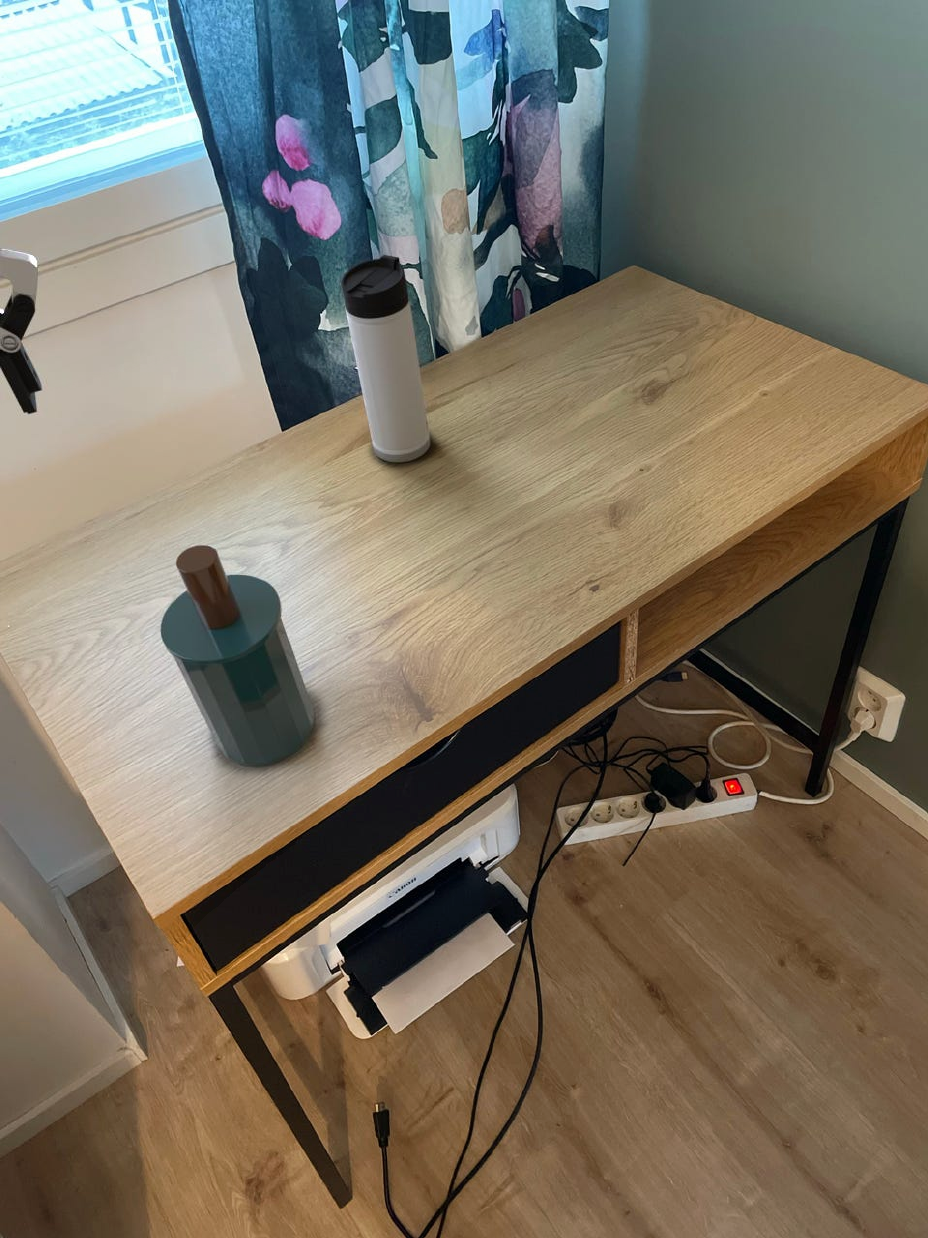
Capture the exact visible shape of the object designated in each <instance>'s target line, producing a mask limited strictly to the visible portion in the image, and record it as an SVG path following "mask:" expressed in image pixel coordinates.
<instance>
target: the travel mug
mask: <svg viewBox="0 0 928 1238" xmlns="http://www.w3.org/2000/svg"><path fill="white" fill-rule="evenodd" d="M406 279H407V278H406V272H405V267H404V266H403V264H402V263H401V261H400V257H398V256H394V255H388V254H383V255H381V256H379V258H373V259H369V260H365V261H362V262H360V263H358V264H356V265H354V266H353V267H351V268H350V269H348V270H347V271H346V272H345V273H344V274H343V276H342V278H341V281H340V286H341V292H342V297H343V300H344V306H345V313H346V319H347V323H348V329H349V333H350V334H349V335H350V339H351V343H352V344H351V345H352V348H353V352H354V359H355V363H356V369H357V374H358V379H359V383H360V387H361V388H360V389H361V392H362V398H363V402H364V403H363V404H364V406H365V407H364V408H365V412H366V417H367V423H368V427H369V431H370V436H371V442H372V447H373V452H374V453H375V455H376V456H377V457H378V458H379V459H381V460H383V461H386V462H390V463H407V462H411V461H413V460H416V459H418V458H420V457H422V456H423V455H424V454H425V453H426V452H427V451H428V450H429V449H430V446H431V437H430V431H429V430H430V429H429V424H428V422H429V421H428V416H427V409H426V402H425V396H424V390H423V382H422V377H421V367H420V362H419V355H418V350H417V349H418V347H417V342H416V336H415V329H414V322H413V316H412V315H413V313H412V308H411V302H410V297H409V292H408V286H407V280H406Z"/></svg>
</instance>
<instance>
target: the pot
mask: <svg viewBox="0 0 928 1238" xmlns="http://www.w3.org/2000/svg"><path fill="white" fill-rule="evenodd" d="M172 657H173V659H174V661H175V664H176V665H177V667H178V669H179V672H180V673H181V675H182V677H183V679H184V682H185V684H186V685H187V688H188V689H189V691H190V693H191V695H192V698H193V700H194V701H195V704H196V705H197V708H198V709H199V711H200V713H201V715H202V717H203V720H204V722H205V723H206V726H207V728H208V730H209V732H210V734H211V736H212V738H213V740H214V742H215V744H216V745H217V748H218V749H219V750H220V751H221V753H222V754H223V756H225V757H226V758H227V759H228V760H229V761H231V762H233V763H235V764H238V765H239V766H244V767H250V768H251V767H253V768H254V767H255V768H256V767H257V768H259V767H267V766H271V765H275V764H277V763H279V762H282V761H285V760H286V759H288V758H290V757H291V756H293V755H294V754H295V753H296V752H298V751H299V750H300V749H301V748H302V747H303V746H304V745H305V744H306V742H307V741H308V740H309V738H310V736H311V734H312V731H313V729H314V725H315V711H314V707H313V704H312V701H311V698H310V696H309V692H308V690H307V687H306V685H305V682H304V678H303V675H302V673H301V670H300V667H299V665H298V662H297V659H296V656H295V653H294V649H293V648H292V645H291V642H290V639H289V636H288V634H287V630H286V628H285V624H284V622H283V619H282V617H281V618H280V621H279V624H278V626H277V628H276V629H275V631H274V632H273V634H272V635H271V636H270V637H269V639H268V640H267V641H265V642H264V643H263V644H262V645H261V646H260V647H258V648H257V649H256V650H254V651H252V652H251V653H249V654H247V655H245V656H243V657H241V658H238V659H236V660H233V661H230V662H226V663H222V664H215V665H196V664H191V663H187V662H184V661H181V660H180V659H178V658H176V657H175V656H173V655H172Z"/></svg>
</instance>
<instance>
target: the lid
mask: <svg viewBox="0 0 928 1238" xmlns="http://www.w3.org/2000/svg"><path fill="white" fill-rule="evenodd" d="M175 566H176V569H177V571H178V573H179V575H180V578H181V580H182V582H183V584H184V587H185V589H186V590H185V591H183V592H182V593H181V594H179V595H178V596H177V597H176V598H175V599H174V600H173V602H171V604H170V605H169V606H168V608H167V609H166V610H165V612H164V614H163V616H162V619H161V623H160V629H159V630H160V637H161V640H162V643H163V645H164V647H165V648H166V650H167V651H168V653H170V654H171V655H172V657H173V656H175V657H176V658H178V659H180V660H181V661H184V662H187V663H191V664H196V665H215V664H222V663H226V662H230V661H233V660H236V659H238V658H241V657H243V656H245V655H247V654H249V653H251V652H252V651H254V650H256V649H257V648H258V647H260V646H261V645H262V644H263V643H264V642H265V641H267V640H268V639H269V637H270V636H271V635H272V634H273V632H274V631H275V629H276V628H277V626H278V624H279V621H280V618H281V619H282V613H283V612H282V611H283V607H282V602H281V598H280V596H279V593H278V591H277V590H276V589H275V588H274V586H273V585H272V584H270V583H269V582H268V581H266V580H264V579H262V578H260V577H257V576H254V575H249V574H240V573H239V574H238V573H237V574H235V573H233V574H227V573H226V571H225V568H224V565H223V563H222V561H221V558H220V556H219V552H218V551H217V549H216V548H215V547H214V546H211V545H209V544H197V545H193V546H190V547H187V548H185V550H183V551H182V552H180V554H179V555H178V556H177V558H176V561H175Z"/></svg>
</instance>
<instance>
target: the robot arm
mask: <svg viewBox="0 0 928 1238" xmlns="http://www.w3.org/2000/svg"><path fill="white" fill-rule="evenodd" d="M0 278H2V279H3V278H4V279H6V280H8V281H9V282H10V283H11V285H12V287H11V294H10V296H9V299H8V301H7V303H6V305H5V307H4V309H1V308H0V370H1V372H2V374H3V376H4V378H5V380H6V382H7V383H8V385H9V387H10V389H11V391H12V393H13V394H14V397H15V399H16V401H17V402H18V405H19V406H20V409H21V410H22V412H23V414H28V415H31V414H34V413H38V409H37V408H38V407H37V399H36V398H37V397H36V393H37V392H41V391H43V386H42V383H41V380H40V377H39V375H38V373H37V370H36V369H35V367H34V364H33V363H32V360H31V358H30V356H29V355H28V353H27V351H26V348H25V347H24V345H23V343H22V341H23V338H24V336H25V334H26V332H27V330H28V328H29V326H30V323H31V322H32V321H33V320H32V319H33V317H34V316H35V313H36V299H37V290H38V279H39V270H38V262H37V259H36V258H35V257H34V256H33V255H32V254H29V253H25V252H19V251H14V250H10V249H6V248H5V249H4V248H0Z"/></svg>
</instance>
